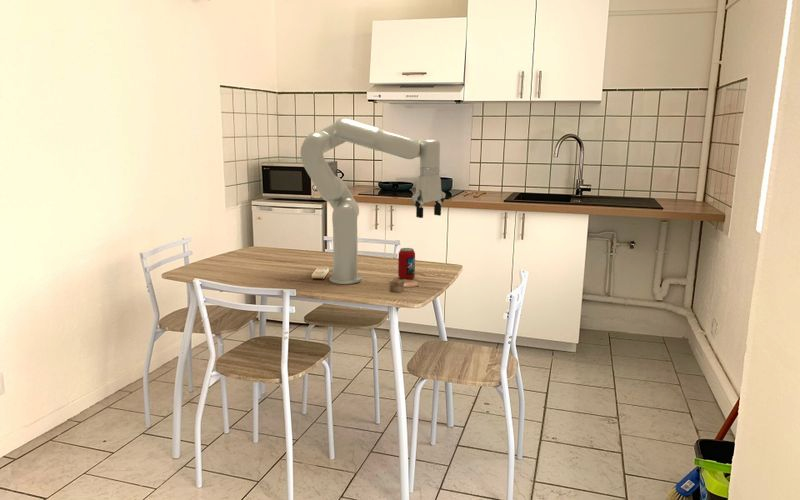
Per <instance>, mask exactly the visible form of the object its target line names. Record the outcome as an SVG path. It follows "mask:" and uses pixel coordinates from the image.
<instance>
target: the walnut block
mask: <svg viewBox="0 0 800 500" xmlns="http://www.w3.org/2000/svg"><path fill="white" fill-rule="evenodd" d="M404 291H405V288H404V280H403V279H398V278H397V279H396V278H395V279H391V280H390V281H389V292H391V293H396V294H400V293H402V292H404Z"/></svg>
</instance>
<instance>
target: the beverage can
mask: <svg viewBox="0 0 800 500" xmlns="http://www.w3.org/2000/svg"><path fill="white" fill-rule="evenodd" d="M397 264H398V266H397V269H398V270H397V271H398V272H397V273H398V274H397V276H398V278H400V280H403V279H406V280H413V278H414V277H415V275H416V274H415V273H416V252H415V250H414V248H412V247H401V248H400V250H399V252H398V263H397Z"/></svg>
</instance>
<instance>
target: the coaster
mask: <svg viewBox="0 0 800 500" xmlns="http://www.w3.org/2000/svg"><path fill="white" fill-rule="evenodd" d="M402 280H404V289H405V288H406V289H407V288H408V289H409V288H415V287H418V286H419V282H418V281H417V280H413V279H402Z"/></svg>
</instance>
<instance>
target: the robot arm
mask: <svg viewBox="0 0 800 500" xmlns="http://www.w3.org/2000/svg"><path fill="white" fill-rule="evenodd" d="M347 142H348V143H350V144H354V145H357V146H361V147H364V148H368V149H371V150H374V151H377V152H378V151H379V152H382V153H385V154H389V155H391V156H396V157H398V158H402V159H405V160H413V159H416V158H419V175H418V176H417V180H416V185H415V193H414V194H412V196H411V199H412V203H413V204H414V206H415V208H416V210H415V211H416V212H415V213H416V215H415V216H416V218H418V219H423V218H424V207H423V206H424V204H425V203H432V202H433V203H434V207H433V215H434V216H439V217H440V216H441V215H442V206H443V203H444V201H445V198H446V192H444V191H442V179H441V175H440V172H441V168H440V163H441V162H440V161H441V142H440V141H439V140H438V139H432V138H430V139H427V138H426V139H425V138H424V139H415V138H409V137H407V136H406V137H405V136H402V135H399V134H395V133H392V132H389V131H387V130H385V129H383V128H381V127H378V126H375V125H372V124H368V123H366V122H362V121H359V120H355V119H353V118H349V117H341V118H339V119H337V120H336V121H335V122H334V123H332V124H330V125H329V126H327V127H324V128H323V129H321V130H318V131H313V132H310V133H309V134H307V136H306V137H305V138H304V140H303V142H302V145H301V147H300V160H301V163H302V166H303V168H304V169H305V171H306V173H307V175H308V176H309V178H310V179H311V180H310V181H312V184H313V185H314V186H315V188H316V190H317V192H318V193H319V196H320V197H321V198H322V199H323V200H324V201H326V202H328V203H329V205H330V206H331V208H332V209H333V211H332V215H331V216H332V219H331V221H332V222H331V223H332V245H333V249H332V250H333V251H332V252H333V257H332V258H333V261H332V263H333V264H332V265H333V266H332V268H330V269H329V272H331V273H332V275H331V276H330V277H329V282H331V284H332V283H333V284H337V285H338V284H339V285H353V284H357V283H360V282H361V281H362V277H361V276H360V275H358V244H359V243H358V217H359V215H360V208H359V205H358V203H357V201H356V200H355V198H354V196H353V195H352V193H351V191H350V189H349V188H348V186H347V185H346V183H345V182H344V180H342V178H340V177H339V176H336V175H335V174H334V172H333V170H332V169H331V167H330V165H329V163H328V162H327V160H326V159H325V156H324V154H325V153H327V152H328V151H331V150H332V149H334V148H336V147H338V146H340V145H342V144H345V143H347Z"/></svg>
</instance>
